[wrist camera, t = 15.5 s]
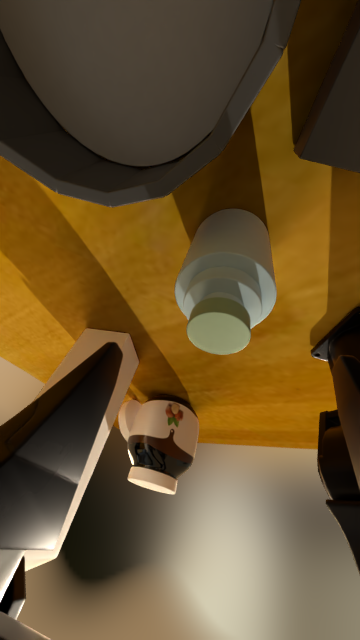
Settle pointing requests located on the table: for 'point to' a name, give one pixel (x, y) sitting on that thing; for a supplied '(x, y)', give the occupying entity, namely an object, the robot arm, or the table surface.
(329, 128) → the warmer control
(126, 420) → the spread jar
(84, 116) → the bottle warmer
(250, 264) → the bottle
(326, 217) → the table surface
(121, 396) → the milk
